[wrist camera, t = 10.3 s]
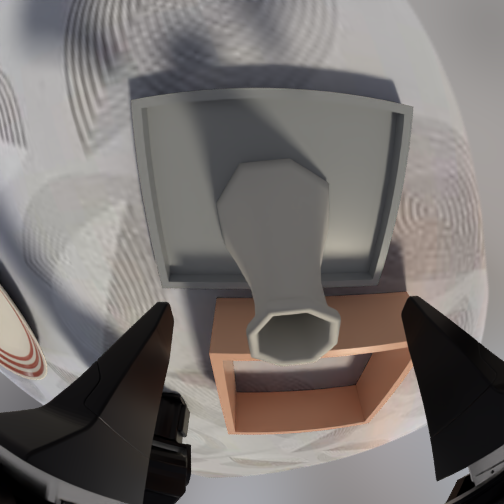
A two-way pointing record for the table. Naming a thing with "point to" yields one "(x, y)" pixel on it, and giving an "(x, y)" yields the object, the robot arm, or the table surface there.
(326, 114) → the grey tray
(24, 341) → the dinner plate
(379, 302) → the terracotta box
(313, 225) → the flask
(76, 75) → the table surface
